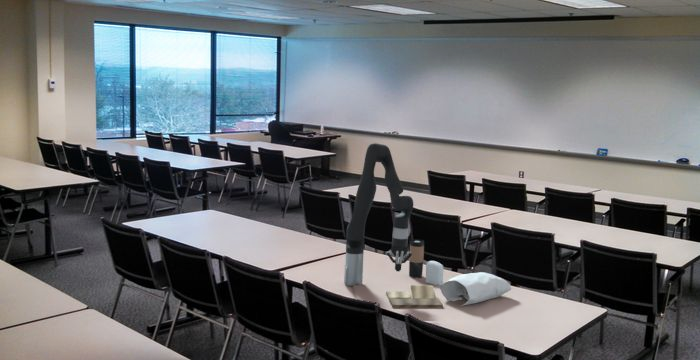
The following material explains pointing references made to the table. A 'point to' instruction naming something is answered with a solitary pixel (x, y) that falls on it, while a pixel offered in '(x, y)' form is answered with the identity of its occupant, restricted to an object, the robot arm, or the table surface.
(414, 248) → the travel mug
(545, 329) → the table surface
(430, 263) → the photo printer
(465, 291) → the bag
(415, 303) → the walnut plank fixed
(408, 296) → the oak plank left
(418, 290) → the oak plank right
